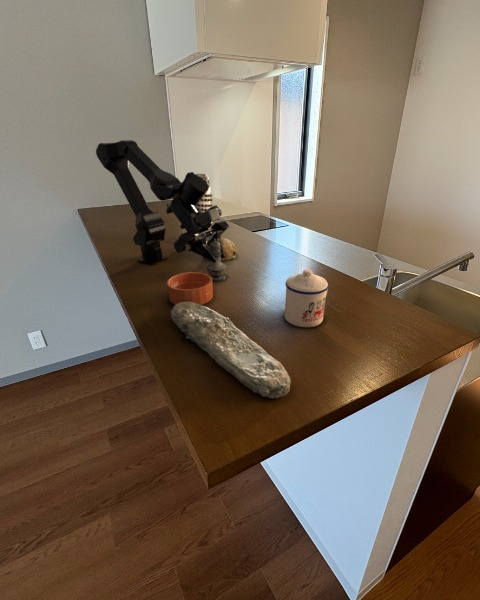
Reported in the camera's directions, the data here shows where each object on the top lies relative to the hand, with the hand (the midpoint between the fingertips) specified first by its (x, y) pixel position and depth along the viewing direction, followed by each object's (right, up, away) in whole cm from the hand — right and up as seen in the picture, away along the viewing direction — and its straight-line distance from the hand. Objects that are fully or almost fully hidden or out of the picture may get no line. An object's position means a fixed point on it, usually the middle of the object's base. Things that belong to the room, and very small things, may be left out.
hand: (220, 259), depth 90 cm
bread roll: (-1, +4, +20) cm, 21 cm away
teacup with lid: (+21, -15, -17) cm, 31 cm away
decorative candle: (-9, +11, +35) cm, 38 cm away
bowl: (-7, -11, -8) cm, 15 cm away
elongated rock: (+2, -21, -27) cm, 34 cm away
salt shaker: (-1, -5, +4) cm, 6 cm away
